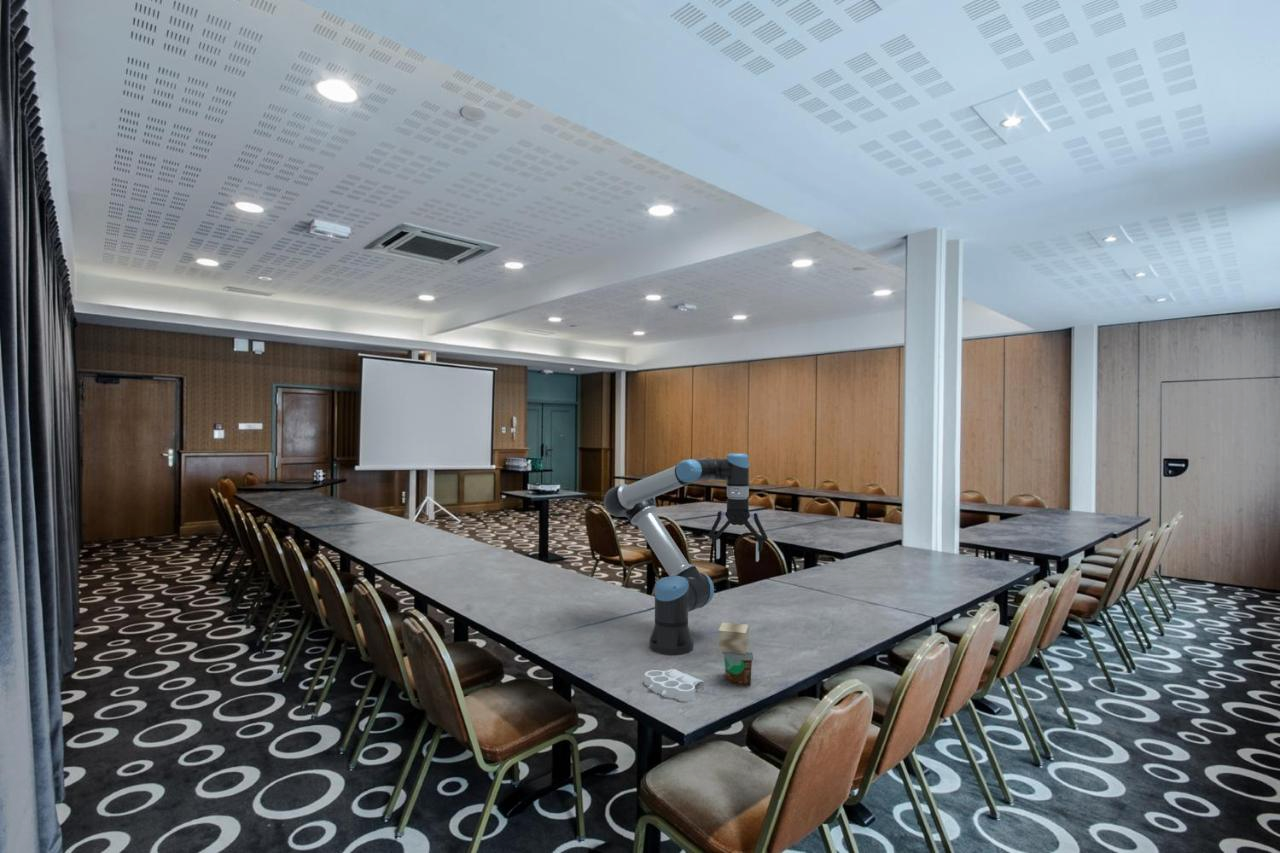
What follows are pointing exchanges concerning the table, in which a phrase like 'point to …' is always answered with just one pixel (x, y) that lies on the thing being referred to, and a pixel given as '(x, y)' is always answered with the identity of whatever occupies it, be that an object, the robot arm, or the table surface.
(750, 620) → the table surface
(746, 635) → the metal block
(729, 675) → the food container
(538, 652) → the table surface
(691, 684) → the white brass knuckles
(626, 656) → the table surface
